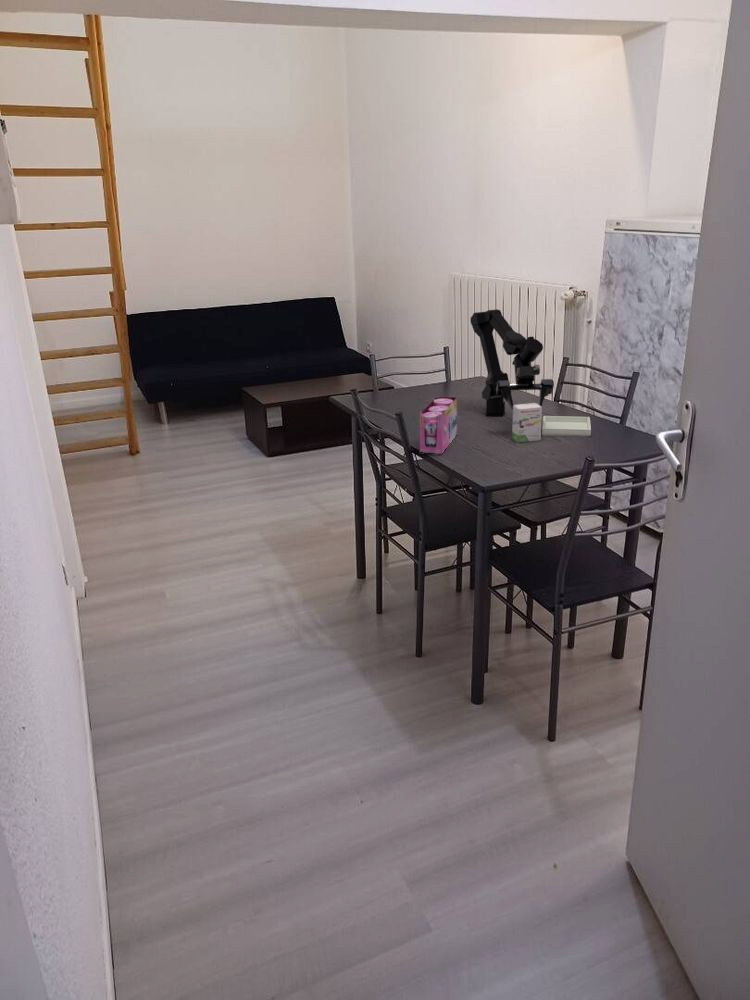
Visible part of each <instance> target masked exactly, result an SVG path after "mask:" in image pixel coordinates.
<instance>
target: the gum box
mask: <svg viewBox="0 0 750 1000" xmlns="http://www.w3.org/2000/svg"><path fill="white" fill-rule="evenodd" d="M456 435H457V436H458V397H457V396H455V397H454V396H435V397H434V398H433V399H432V400H431V401H430V402H429V403H428V404H427V405H426V406H425V407H424V408H423V409H422V410H421V411H420V412H419V453H420V452H433V453H443V452H444V450H445V449H446V448H447V447H448V445H449V444H450V443H451V442H452V440H453V439H454V438H455V436H456ZM457 436H456V437H457ZM455 439H456V438H455ZM455 439H454V440H455ZM454 440H453V441H454ZM452 443H453V442H452ZM452 443H451V444H452ZM451 444H450V445H451ZM450 445H449V446H450ZM448 448H449V447H448ZM448 448H447V449H448ZM447 449H446V450H447ZM444 453H445V452H444ZM444 453H443V454H444Z"/></svg>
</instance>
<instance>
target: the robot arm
mask: <svg viewBox="0 0 750 1000" xmlns="http://www.w3.org/2000/svg"><path fill="white" fill-rule="evenodd" d="M502 314H503V313H502V311H501V310H500V309H489V310H486V311H479V312H477V311H476V312H473V314H472V316H471V317H470V325H471V326H472V330H473V332H474V333H475V334H476V335H477V336H478V337H479V341H480V344H481V345H480V346H481V348H482V354H483V357H484V363H485V367H486V370H487V377H486V379H485V387H484V389H483V390H482V391H481V398H482V399H484V400H486V401H485V402H486V404H485V405H486V407H485V408H486V409H485V410H486V411H485V417H504V414H505V413H506V402H507V404H508V406H509V407H510V409H511V411H513V406H514V402H513V401H514V400H513V395H512V391H533V390H534V391H535V390H537V391H539V395H538V396H539V397H538V405H540V406H541V407H542V406H543V402H544V400H545V398H546V397H549V395H551V394H553V391H554V386H555V382H554V380H553V379H552V378H549V379H548V378H544V379H541V380H540V383H534V381H535V376H539V375H540V373H541V369H540V367H541V366H540V364H534V365H533V366H532V363H533V362H534V361H536V359H537V358H538V357H539V355H540V354H541V353H542V351H543V350H544V345H543V343H542V342H540V341H539V340H538V339H536V338H534V336H532V335H531V336H528V337H527V338H526V337H525V336H523V335H522V333H518V332H516V331H515V330H514V329H513V328H512V327H511V325H510V323H509V322H508V321H507V319H506V318H505V317H504V316H503V315H502ZM494 331H496V334H497V335H498V336H499V337H500V338H501V340H502V341H503V342H502V347H503V349H504V352H505V354H507V356H513V357H514V358H513V361H512V363H511V364H512V365H513V367H514V375H515V377H514V379H515V383H512V384H511V382H510V380H509V375H508V373H507V372H503V371H502V370H501V369H502V368H501V365H500V360H499V356H498V355H499V354H498V351H497V346H496V342H495V339H494V335H493V333H494ZM514 355H515V356H514ZM542 408H543V407H542Z"/></svg>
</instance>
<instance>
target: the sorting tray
mask: <svg viewBox="0 0 750 1000" xmlns="http://www.w3.org/2000/svg"><path fill="white" fill-rule="evenodd" d="M591 433H592V427H591V419H590V416H568V415H567V416H565V415H564V416H563V415H562V416H559V415H543V416H542V424H541V436H546V437H578V438H581V437H582V438H591V437H592V436H591V435H592V434H591Z"/></svg>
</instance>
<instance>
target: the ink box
mask: <svg viewBox="0 0 750 1000" xmlns="http://www.w3.org/2000/svg"><path fill="white" fill-rule="evenodd" d="M542 415H543V407H541V406H540V405H539V403H537V402H532V403H531V402H530V403H522V404H521V403H520V404H513V410H512V426H511V427H512V430H511V439H512V440H513V441H515V442H516V443H517V444H518V443H527V442H536V441H541V438H542V437H541V436H542V420H543V416H542Z"/></svg>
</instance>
